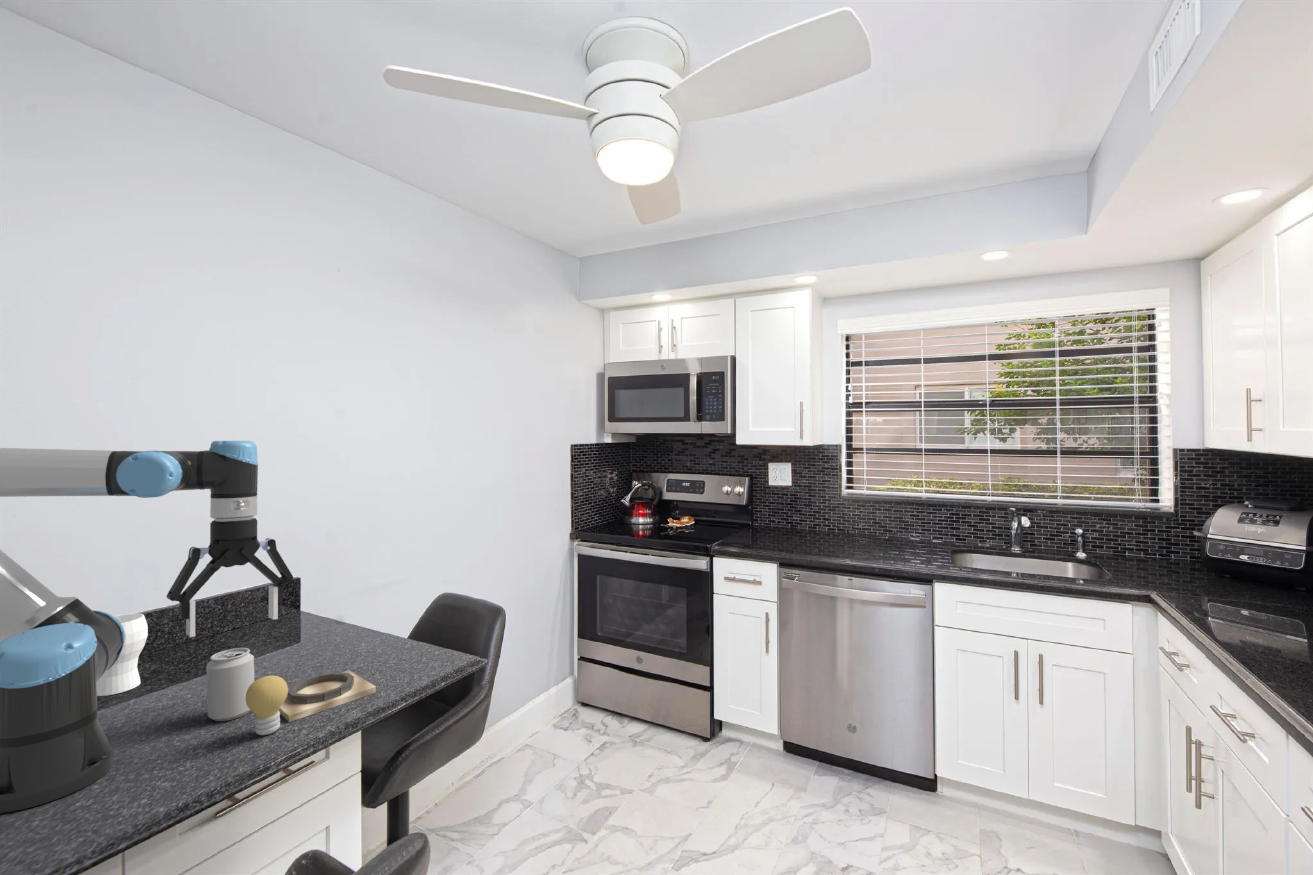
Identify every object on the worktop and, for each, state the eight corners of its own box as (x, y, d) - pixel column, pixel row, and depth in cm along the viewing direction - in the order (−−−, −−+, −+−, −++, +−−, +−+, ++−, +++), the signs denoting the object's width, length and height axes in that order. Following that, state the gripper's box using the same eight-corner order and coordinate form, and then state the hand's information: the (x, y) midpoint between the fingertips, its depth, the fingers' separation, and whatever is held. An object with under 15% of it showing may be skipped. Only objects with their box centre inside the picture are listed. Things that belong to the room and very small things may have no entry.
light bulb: (256, 744, 101) (255, 687, 101) (239, 735, 104) (238, 680, 104) (295, 728, 106) (294, 674, 106) (278, 720, 109) (277, 667, 109)
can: (230, 724, 108) (228, 660, 108) (197, 721, 110) (195, 658, 110) (264, 706, 115) (263, 646, 115) (233, 703, 117) (232, 644, 117)
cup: (152, 687, 126) (150, 618, 126) (83, 704, 118) (81, 631, 118) (146, 674, 133) (144, 609, 133) (81, 690, 126) (79, 621, 125)
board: (289, 722, 108) (288, 707, 108) (266, 701, 118) (265, 687, 118) (376, 692, 121) (375, 679, 121) (349, 675, 130) (348, 663, 130)
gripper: (157, 527, 102) (156, 648, 102) (310, 513, 121) (310, 614, 121) (146, 523, 106) (146, 639, 106) (296, 511, 126) (296, 608, 126)
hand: (233, 626), depth 114 cm, fingers open, 13 cm apart
